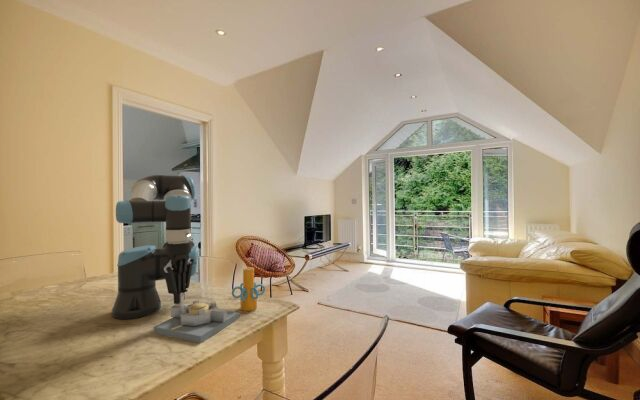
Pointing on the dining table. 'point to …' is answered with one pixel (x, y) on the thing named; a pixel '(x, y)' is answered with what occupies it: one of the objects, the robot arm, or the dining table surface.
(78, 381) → the dining table surface
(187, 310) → the grey curved saddle piece
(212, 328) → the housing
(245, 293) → the orange post with rings
